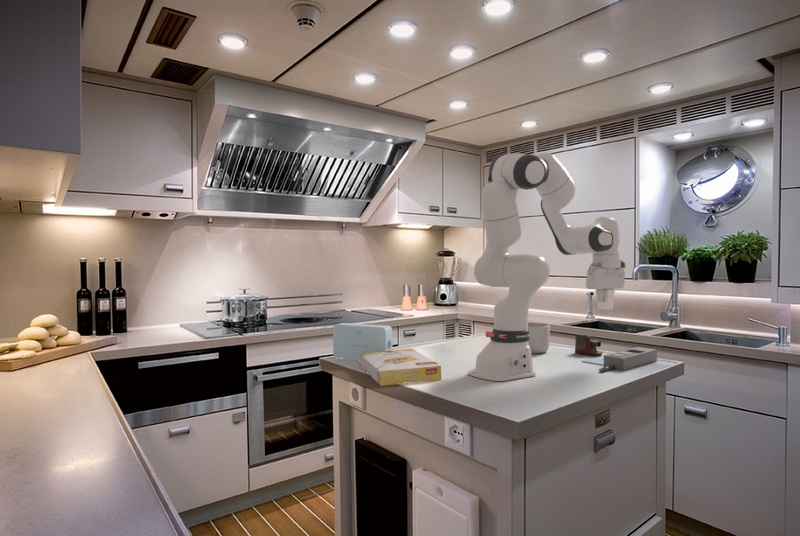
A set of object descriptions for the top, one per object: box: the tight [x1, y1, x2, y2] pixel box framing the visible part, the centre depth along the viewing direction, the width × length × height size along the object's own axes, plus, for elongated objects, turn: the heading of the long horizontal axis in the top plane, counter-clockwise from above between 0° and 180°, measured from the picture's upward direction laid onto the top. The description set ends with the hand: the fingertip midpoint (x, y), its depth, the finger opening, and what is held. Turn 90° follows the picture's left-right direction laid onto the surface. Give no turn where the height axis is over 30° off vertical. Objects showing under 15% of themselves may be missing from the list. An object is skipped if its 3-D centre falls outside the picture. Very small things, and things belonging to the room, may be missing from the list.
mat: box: [581, 357, 604, 366], centre depth 175 cm, size 8×8×1 cm
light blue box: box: [332, 322, 394, 361], centre depth 183 cm, size 23×6×13 cm, turn 62°
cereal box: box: [359, 348, 442, 387], centre depth 162 cm, size 20×6×28 cm
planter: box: [528, 322, 551, 354], centre depth 195 cm, size 12×12×11 cm
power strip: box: [598, 346, 658, 373], centre depth 169 cm, size 33×7×4 cm, turn 128°
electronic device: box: [574, 334, 604, 357], centre depth 189 cm, size 4×10×8 cm, turn 44°
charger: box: [596, 289, 615, 310], centre depth 174 cm, size 4×4×7 cm
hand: (605, 301), depth 174 cm, fingers closed on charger, 4 cm apart
